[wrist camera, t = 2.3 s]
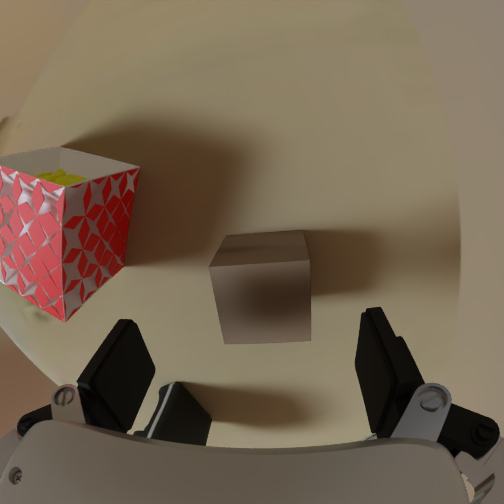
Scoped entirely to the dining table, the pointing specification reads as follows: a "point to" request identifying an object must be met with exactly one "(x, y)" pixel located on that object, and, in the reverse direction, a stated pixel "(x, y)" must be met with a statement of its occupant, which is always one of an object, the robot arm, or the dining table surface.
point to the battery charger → (177, 418)
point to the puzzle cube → (63, 225)
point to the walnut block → (263, 288)
